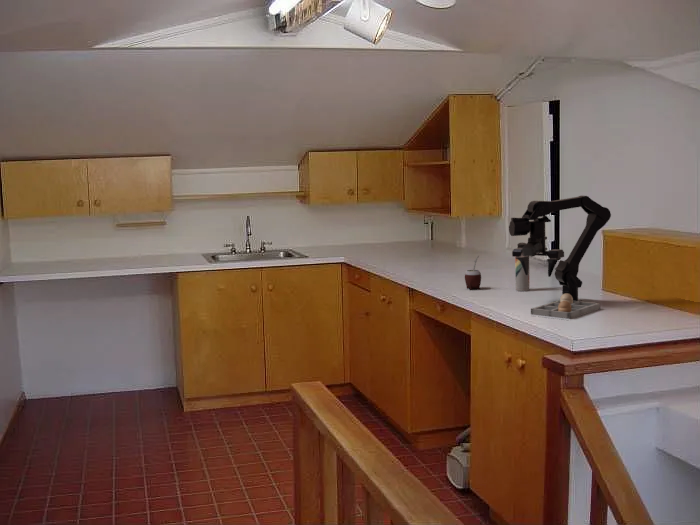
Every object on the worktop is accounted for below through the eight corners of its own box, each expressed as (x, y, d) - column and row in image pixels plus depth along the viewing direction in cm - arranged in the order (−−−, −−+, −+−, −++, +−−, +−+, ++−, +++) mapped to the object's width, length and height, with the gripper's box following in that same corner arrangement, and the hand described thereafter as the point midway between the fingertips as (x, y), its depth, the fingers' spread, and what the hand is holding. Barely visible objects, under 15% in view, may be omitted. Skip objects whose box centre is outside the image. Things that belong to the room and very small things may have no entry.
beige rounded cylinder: (564, 305, 295) (564, 292, 294) (575, 307, 292) (575, 293, 291) (558, 307, 292) (558, 293, 291) (569, 309, 289) (569, 294, 288)
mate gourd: (468, 287, 349) (468, 253, 347) (485, 288, 345) (485, 253, 343) (461, 290, 343) (461, 255, 341) (479, 291, 338) (478, 255, 337)
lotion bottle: (527, 289, 339) (527, 241, 337) (531, 291, 334) (530, 243, 331) (514, 289, 339) (513, 242, 337) (517, 291, 333) (517, 243, 331)
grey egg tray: (562, 306, 298) (562, 299, 297) (600, 310, 287) (600, 303, 287) (530, 315, 282) (530, 308, 281) (569, 320, 271) (569, 313, 271)
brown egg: (562, 314, 280) (562, 299, 280) (573, 315, 277) (573, 300, 277) (555, 316, 277) (555, 301, 276) (567, 317, 274) (567, 302, 273)
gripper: (504, 236, 299) (505, 277, 301) (551, 237, 287) (551, 280, 289) (518, 233, 308) (519, 273, 310) (564, 234, 296) (564, 276, 298)
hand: (538, 275), depth 301 cm, fingers open, 9 cm apart
